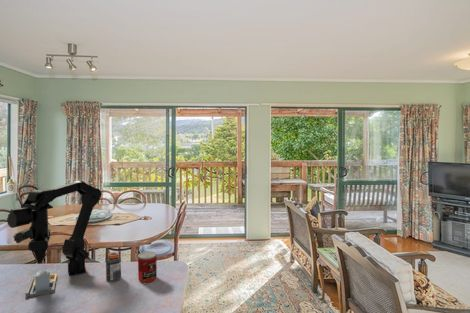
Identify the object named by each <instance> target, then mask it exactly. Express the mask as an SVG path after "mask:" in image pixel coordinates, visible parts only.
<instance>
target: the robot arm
mask: <svg viewBox="0 0 470 313" xmlns="http://www.w3.org/2000/svg"><path fill="white" fill-rule="evenodd" d="M75 192H77V193H78V194H79V195H80V196H81V197H80V200H81V207H80V211H79V214H78V216H77V219H76V222H75V226H74V228H73V231H72V234H71V236H70V237H69V238H65V239H64V242H63V245H62V247H61V248H62V249H61V250H62V251H61V252H62V254H63V255H64V256H65V259H69V260H68V263H67V273H68V275H69V276H73V275H79V274H83V273H86V260H87V259H88V258H89V256H90V255H89V254H90V253H89V252H88V251H87V250H85V246H86V245H85V239H84V237H85V234H86V231H87V228H88V224H89V222H90V218H91V216H92V213H93V210H94V207H95V206H96V205H98V203H99V202H100V199H101V198H102V191H101V189H100V188H97V187H94V186H93V185H91V184H88V183H86V182H85V181H83V180H75V181H72V182H68V183H65V184H63V185H59V186H56V187H52V188H45V189H43V188H42V189H41V188H40V189H34V190H31V191H29V193H28V195H27V197H26V199H25V201H24V202H23V204H22V205H21V206H20V207H19V208H13V209H10V210H9V211H10V212H9V213H8V214H7V215H8V216H7V218H6V222H7V225H8V227H10V228H12V229H14V228H18V227H22V226H26V225H30V226H29V227H28V228H25V229H23V230H20V231H19V232H15V233H14V234H13V241H14V242H15V243H16V244H20V243H21V242H23V241H26V240H28V239H29V242H28V245H27V248H28V251H31V252H33V253H34V255H35V258H36V261H37V264H42V263H43V259H44V257H45V255H46V253H47V250H48V248H49V241H50V238H51V229H49V217H48V216H49V214H48V211H49V210H51V209H53V208H54V206H53V205H51V204H50V203H51V202H53V201H54V200H55V199H57V198H59V197H63V196H65V195H69V194H72V193H75Z"/></svg>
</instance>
